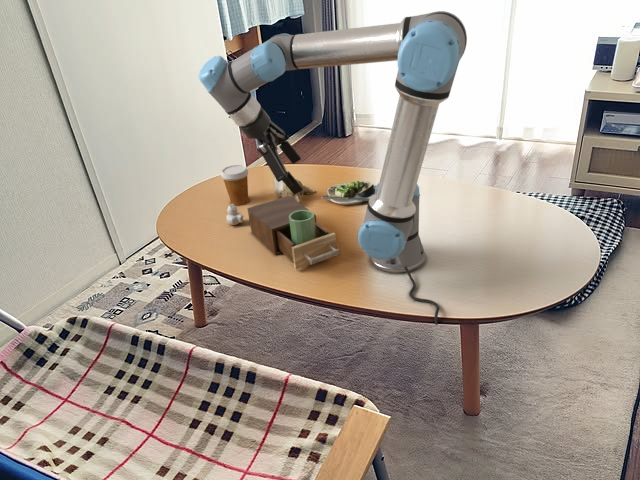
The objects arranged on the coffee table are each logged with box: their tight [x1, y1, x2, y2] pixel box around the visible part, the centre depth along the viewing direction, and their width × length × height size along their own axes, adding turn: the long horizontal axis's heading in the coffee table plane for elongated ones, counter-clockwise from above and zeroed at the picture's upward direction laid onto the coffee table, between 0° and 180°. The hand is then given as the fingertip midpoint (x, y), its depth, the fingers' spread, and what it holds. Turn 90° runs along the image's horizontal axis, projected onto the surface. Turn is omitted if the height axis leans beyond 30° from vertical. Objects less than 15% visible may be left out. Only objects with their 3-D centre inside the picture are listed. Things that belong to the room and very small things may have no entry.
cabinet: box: [246, 195, 317, 256], centre depth 175 cm, size 18×15×9 cm
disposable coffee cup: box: [220, 164, 249, 206], centre depth 198 cm, size 10×10×12 cm
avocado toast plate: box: [321, 180, 375, 206], centre depth 195 cm, size 19×18×5 cm
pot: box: [289, 209, 317, 246], centre depth 162 cm, size 7×7×11 cm
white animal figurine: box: [225, 202, 244, 226], centre depth 185 cm, size 5×7×8 cm
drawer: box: [275, 221, 341, 271], centre depth 163 cm, size 23×14×7 cm, turn 29°
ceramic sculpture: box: [273, 176, 318, 204], centre depth 197 cm, size 11×9×15 cm
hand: (297, 175), depth 152 cm, fingers open, 13 cm apart
